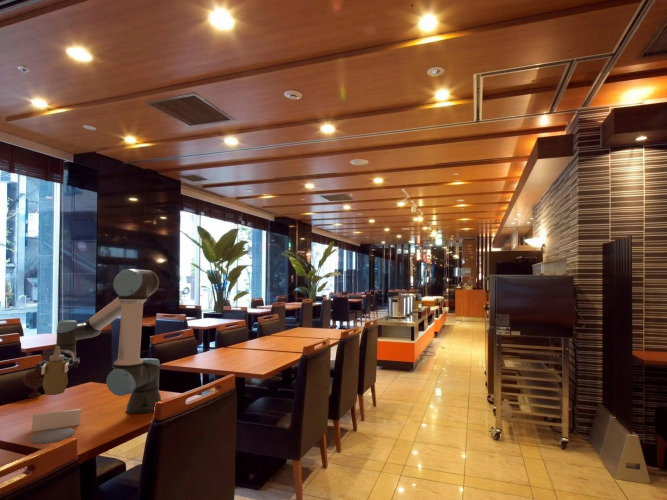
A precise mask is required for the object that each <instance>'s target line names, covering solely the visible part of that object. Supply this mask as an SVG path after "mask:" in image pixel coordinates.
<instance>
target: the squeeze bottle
mask: <svg viewBox="0 0 667 500" xmlns="http://www.w3.org/2000/svg"><path fill="white" fill-rule="evenodd" d="M49 360H50V362H48V361H47V362H48V363H47V364H46V372H45V374H44V380H43V385H42V388H43V391H44V393H45V395H46V396H56V395H61V394H64V393H65V391H66V389H67V386H68V382H69V377H68V371H67V372H64V371H65V364H66V363H67V362H66V361H65V360H64V355H61V351H60V346H56V345H55V348H54V351H53V355H50V356H49Z"/></svg>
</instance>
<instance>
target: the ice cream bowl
mask: <svg viewBox="0 0 667 500" xmlns="http://www.w3.org/2000/svg"><path fill="white" fill-rule="evenodd" d="M44 374H45V373H44ZM44 374H41V371H40V370H39V371H36V366H35V367H34V368H33V369H31V370H29V371H27V372H26V374H25V375H24V377H23V378H22V383H23V384H24V385H25V386H26V387H28V388H30V389H32V393H31V394H29V395H28V398H36V397H37V396H38V397H41V396H42V394H41V393H40V392H38V389H39V388H40V387H43V380H44ZM38 397H37V398H38Z"/></svg>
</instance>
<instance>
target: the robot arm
mask: <svg viewBox="0 0 667 500" xmlns="http://www.w3.org/2000/svg"><path fill="white" fill-rule="evenodd" d="M112 285H113V290H114V292H115V293H116V295H117V294H118V295H117V297H116V298H115V299H113V300H112V301H111V302H110V303H108V304H106V306H104V307H103V308H102V309H100V310H99V311H98V312H96V313H95V314H93V316H91V317H90V318H89V319H87V320H86V321H84V322H81V323H80V322H79V323H78V321H77V320H73V319H72V320H71V319H67V320H66V319H65V320H60V321H58V323H57V327H56V343H55V344H56V345H55V347H56V346H60V351H61V355H64V360H65V361H66V362H67V363H66V364H65V371H64V372H67V373H68V371H69V370H70V369H71V370H72V369H73V368H74V369H77V368H79V365H80V361H81V358H80V357H77V349H76V348H77V341H79V340H84V339H85V340H86V339H92V338H94V337H98V336H99V335H100V334H101V332H102V329H104V328H106V327H107V326H108V325H109V324H111V323H112V322H114V320H116V319H117V318H119V317H120V326H119V338H118V351H117V352H118V353H117V359H116V360H115V361H114V362H113V367H112V370H111V371H110V372H109V373H108V375H107V376H106V387H107V389H108V391H110V392H111V393H112V394H113V395H115V396H118V397H122V396H126V395H130V396H129V399H128V401H127V404H126V407H125V408H126V409H125V411H126V412H127V413H128V412H129V413H130V414H146V413H145V412H148V413H152V412H151V411H153V412H155V411H154V407H155V403H156V402H158V401H161V400H162V398H161V393H160V391H159V390H160V368H161V365H160V363H161V362H160V359H158V358H152V357H151V358H150V357H149V358H148V357H145V358H143V357H142V358H141V347H142V346H141V345H142V344H141V343H142V327H143V311H144V303H146V302H147V300H148V298H149V297H151V295H154V294H155V292H156V291H157V290H158V288H159V286H160V280H159V277H158V275H157V273H155V272H154V271H152V270H150V269H137V268H129V269H123V270H121V271H120V272H118V274H116V276H115V277H114V280H113V283H112ZM48 362H50V359H49V360H48V361H47V360H45V359H42V360H40V361H39V362H38V363H36V364H35V367H36V371H39V370H40V371H41V374H44V373H45V372H46V364H47V363H48Z"/></svg>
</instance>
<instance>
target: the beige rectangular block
mask: <svg viewBox="0 0 667 500" xmlns="http://www.w3.org/2000/svg"><path fill="white" fill-rule="evenodd" d="M81 410H82V409H81V408H76V409H74V408H73V409H68V410H60V411H59V410H58V411H50V412H44V413H43V412H42V413H35V414H33V415H32V421H31V422H32V424H31V432H40V431H45V430H49V429H55V428H69V427H74V426H80V424H81V413H82V411H81Z"/></svg>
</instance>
